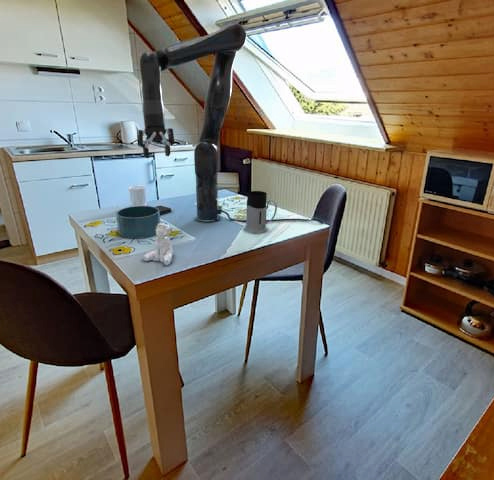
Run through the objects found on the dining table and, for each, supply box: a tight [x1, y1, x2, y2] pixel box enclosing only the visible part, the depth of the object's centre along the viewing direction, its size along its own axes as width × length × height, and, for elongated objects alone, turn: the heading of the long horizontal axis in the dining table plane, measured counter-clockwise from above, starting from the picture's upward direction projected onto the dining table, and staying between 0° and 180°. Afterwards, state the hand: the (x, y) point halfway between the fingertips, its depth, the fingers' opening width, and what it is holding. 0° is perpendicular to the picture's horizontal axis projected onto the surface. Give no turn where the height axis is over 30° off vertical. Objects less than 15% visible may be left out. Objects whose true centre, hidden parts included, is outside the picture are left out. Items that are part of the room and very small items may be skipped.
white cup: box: [128, 185, 147, 207], centre depth 165 cm, size 8×8×10 cm
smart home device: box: [154, 205, 172, 216], centre depth 156 cm, size 8×2×20 cm
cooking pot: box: [115, 205, 161, 239], centre depth 135 cm, size 16×16×8 cm
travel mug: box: [244, 190, 278, 234], centre depth 135 cm, size 9×14×15 cm, turn 44°
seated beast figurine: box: [143, 222, 174, 266], centre depth 111 cm, size 10×9×12 cm
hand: (157, 157), depth 134 cm, fingers open, 8 cm apart
